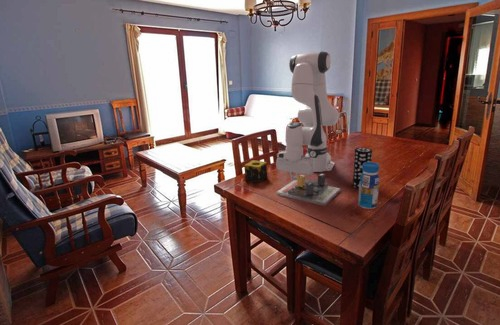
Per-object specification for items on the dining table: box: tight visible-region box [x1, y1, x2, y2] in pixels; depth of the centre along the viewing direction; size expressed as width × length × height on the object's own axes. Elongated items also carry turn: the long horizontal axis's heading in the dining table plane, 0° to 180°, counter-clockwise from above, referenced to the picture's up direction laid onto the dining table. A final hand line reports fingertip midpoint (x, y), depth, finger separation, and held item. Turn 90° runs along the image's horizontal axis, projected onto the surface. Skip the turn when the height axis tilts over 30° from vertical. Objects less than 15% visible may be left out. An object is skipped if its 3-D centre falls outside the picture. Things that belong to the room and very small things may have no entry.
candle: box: [244, 159, 268, 184], centre depth 171 cm, size 10×10×10 cm
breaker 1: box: [298, 174, 306, 187], centre depth 151 cm, size 4×2×5 cm
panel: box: [276, 178, 341, 207], centre depth 150 cm, size 20×26×3 cm
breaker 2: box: [306, 182, 314, 195], centre depth 141 cm, size 4×2×5 cm
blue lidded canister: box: [357, 161, 381, 210], centre depth 130 cm, size 8×8×20 cm
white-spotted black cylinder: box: [352, 147, 373, 190], centre depth 152 cm, size 8×8×20 cm
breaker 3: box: [317, 173, 326, 185], centre depth 151 cm, size 4×2×5 cm
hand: (294, 179), depth 153 cm, fingers closed
